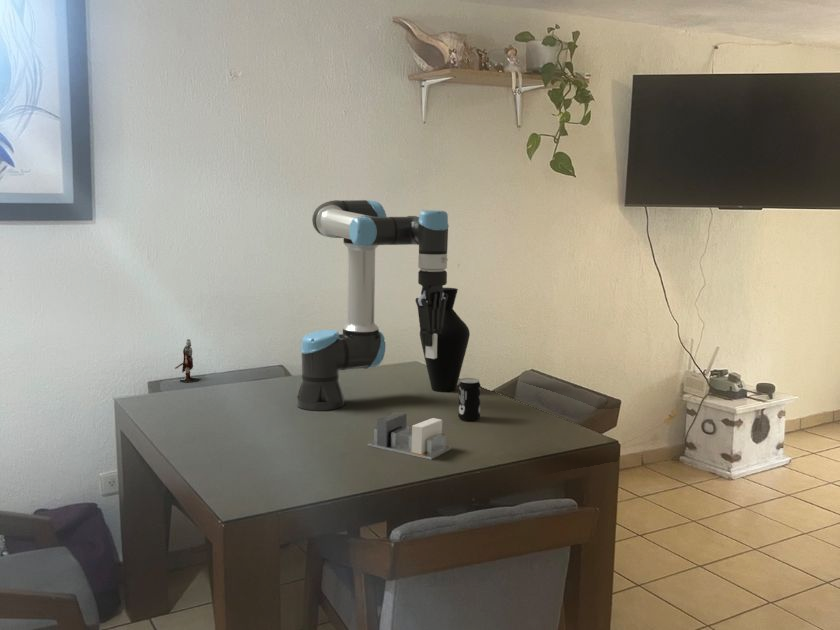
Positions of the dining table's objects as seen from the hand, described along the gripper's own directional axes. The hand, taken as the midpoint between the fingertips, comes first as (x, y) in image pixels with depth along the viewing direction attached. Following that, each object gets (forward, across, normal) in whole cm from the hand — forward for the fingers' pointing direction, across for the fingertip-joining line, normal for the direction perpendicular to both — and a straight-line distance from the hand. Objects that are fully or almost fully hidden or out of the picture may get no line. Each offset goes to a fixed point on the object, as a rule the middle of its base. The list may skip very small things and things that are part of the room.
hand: (431, 357), depth 212 cm
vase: (+25, +54, +28) cm, 66 cm away
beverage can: (+24, +27, +3) cm, 36 cm away
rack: (+24, -6, +3) cm, 25 cm away
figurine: (+25, +12, +109) cm, 112 cm away
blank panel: (+23, -6, -3) cm, 24 cm away
